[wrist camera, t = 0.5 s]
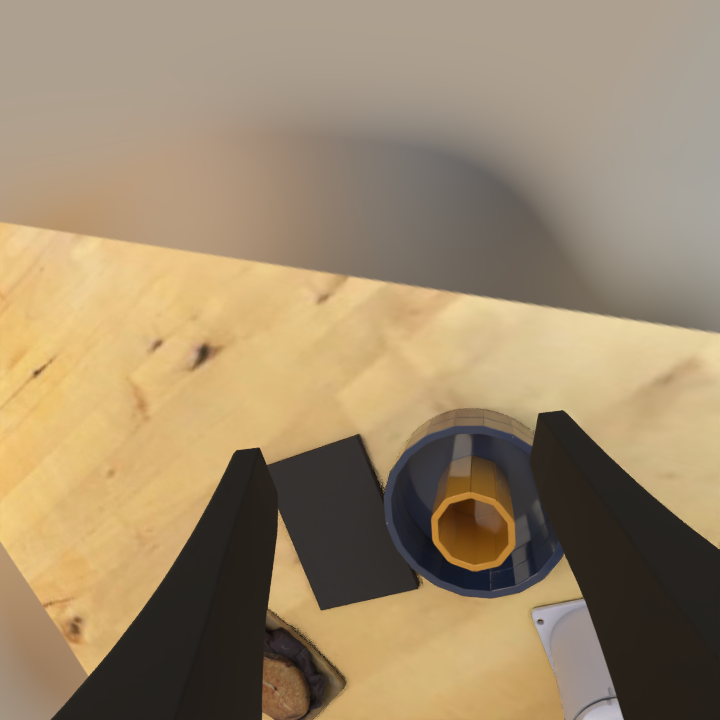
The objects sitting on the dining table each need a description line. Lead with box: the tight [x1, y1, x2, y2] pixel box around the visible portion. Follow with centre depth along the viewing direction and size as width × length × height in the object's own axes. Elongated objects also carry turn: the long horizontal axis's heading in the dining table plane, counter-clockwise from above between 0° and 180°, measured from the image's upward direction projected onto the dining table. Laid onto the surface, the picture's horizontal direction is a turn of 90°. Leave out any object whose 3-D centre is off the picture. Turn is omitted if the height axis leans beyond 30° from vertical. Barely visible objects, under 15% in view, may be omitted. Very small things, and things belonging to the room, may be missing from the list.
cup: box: [431, 455, 516, 571], centre depth 33 cm, size 5×6×7 cm
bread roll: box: [262, 609, 345, 720], centre depth 43 cm, size 11×8×4 cm
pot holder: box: [267, 434, 419, 610], centre depth 40 cm, size 14×10×1 cm
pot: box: [384, 409, 564, 598], centre depth 35 cm, size 13×13×5 cm
